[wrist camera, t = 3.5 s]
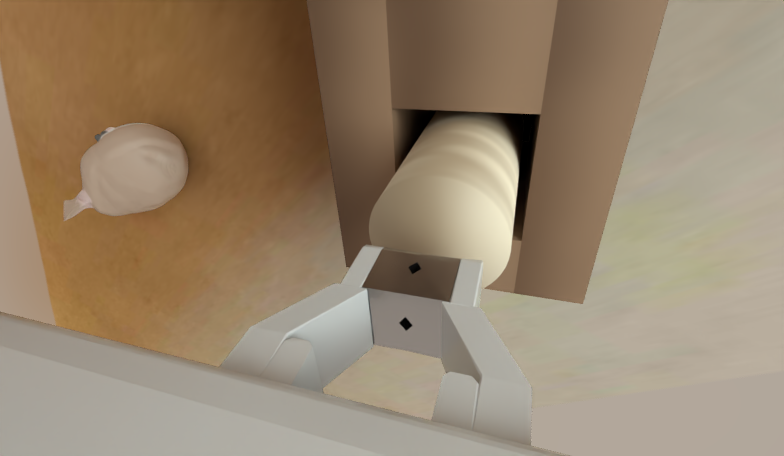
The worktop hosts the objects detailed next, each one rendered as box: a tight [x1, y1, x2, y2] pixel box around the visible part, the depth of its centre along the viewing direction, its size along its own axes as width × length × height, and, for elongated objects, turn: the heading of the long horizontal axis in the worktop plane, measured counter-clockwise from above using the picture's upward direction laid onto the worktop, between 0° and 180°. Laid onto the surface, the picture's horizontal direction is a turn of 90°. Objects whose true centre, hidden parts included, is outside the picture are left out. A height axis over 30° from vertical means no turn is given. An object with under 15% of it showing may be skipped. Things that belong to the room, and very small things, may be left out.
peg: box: [369, 110, 524, 289], centre depth 15 cm, size 4×4×9 cm
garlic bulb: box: [64, 123, 188, 221], centre depth 29 cm, size 7×6×8 cm
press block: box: [307, 0, 668, 304], centre depth 16 cm, size 10×20×10 cm, turn 3°
